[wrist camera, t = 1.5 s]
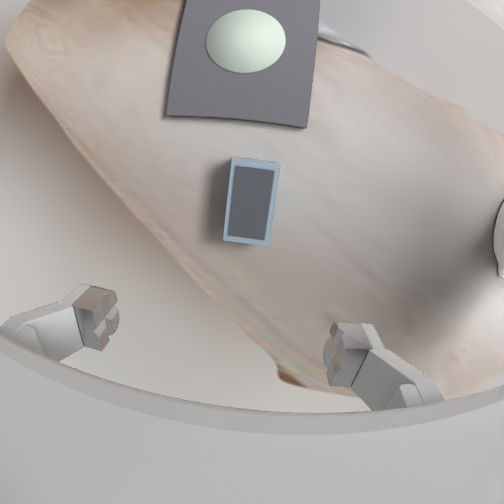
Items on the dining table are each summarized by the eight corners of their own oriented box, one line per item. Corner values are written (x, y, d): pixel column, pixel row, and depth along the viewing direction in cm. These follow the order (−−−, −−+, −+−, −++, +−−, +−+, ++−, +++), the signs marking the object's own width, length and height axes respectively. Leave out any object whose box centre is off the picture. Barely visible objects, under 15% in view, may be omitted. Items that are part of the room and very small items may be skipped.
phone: (278, 162, 31) (280, 164, 27) (267, 235, 34) (268, 246, 31) (236, 156, 31) (231, 158, 27) (227, 229, 34) (222, 240, 31)
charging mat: (319, -8, 22) (321, -13, 20) (305, 128, 29) (307, 127, 28) (194, -16, 22) (192, -21, 20) (169, 115, 29) (165, 115, 28)
